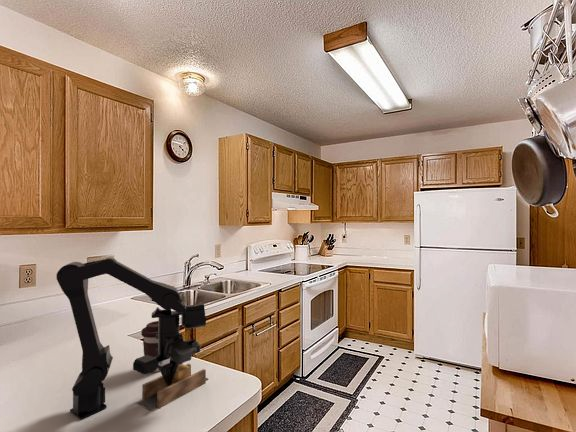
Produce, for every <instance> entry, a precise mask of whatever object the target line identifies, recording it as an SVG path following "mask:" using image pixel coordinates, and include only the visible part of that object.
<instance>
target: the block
mask: <svg viewBox="0 0 576 432" xmlns="http://www.w3.org/2000/svg"><path fill="white" fill-rule="evenodd" d="M186 365H187V364H184V363H183V364H180V365H178V367H177V369H176V372H175V375H174V377H173V380H172V383H173V384H174V383H176V382H178V381H180V380H182V379H184V378H186V377H188V376H190V367H189V366H186Z"/></svg>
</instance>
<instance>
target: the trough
mask: <svg viewBox="0 0 576 432" xmlns="http://www.w3.org/2000/svg"><path fill="white" fill-rule="evenodd" d="M185 365H186V366H189V367H190V376H188V377H186V378H184V379H182V380H180V381H178V382H176V383H174V384H173V383H171V385H170V386H168V385H167V384H166V382H165V380H164V378H163V376H162V375H160V376H159V377H156V378H153V379H151V380H149V381H147V382H145V383H143V384H142V387H141V388H142V389H141V391H142V394H141V395H142V397H141V398H142V400H140V401H139V402H137V404H138V405H140V406H141V407H143V408H145V409H147V410H149V411H152V410H154V409H157V408H158V409H160V408H163V407H164V406H166V405H167V404H169V403H171V402H174V401H175V400H176V399H179V398H180V397H183V396H184V395H186V394H188V393H190V392H192V391H193V390H196V389H197V388H199V387H201V386H203V385H205V384H206V383H207V381H208V380H209V378H207V377H206V376H207V375H206V373H207V372H206V371H207V370H206V369H204V368H202V369H201V370H199V371H197V372H195V373H193V374H192V370H191V369H192V364H190V363H187V364H185Z"/></svg>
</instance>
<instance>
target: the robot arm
mask: <svg viewBox="0 0 576 432" xmlns="http://www.w3.org/2000/svg"><path fill="white" fill-rule="evenodd" d="M102 275H109V276H110V277H113V278H114V279H117V280H119V281H120V282H123V283H124V284H126V285H128V286H130V287H132V288H134V289H136V290H137V291H139V292H142V293H144V294H145V295H146V296H148V297H149V298H150V299H151V300H152V301H153V302H154V303H155V304H156V305H158V307H156V308H155V310H153V311H152V312H151V318H152V319H156V318H157V319H158V320H157V321H158V334H157V335H156V339H158V348H157V349H156V353H158V356H155V357H152V356H149V355H145V356H144V355H143V356H140V357H137V358H135V359H134V361H133V362H132V363H133V364H132V370H134V371H135V372H138V373H140V374H141V375H148V374H151V373H154V372H153V371H155V370H156V369H157V368H158V369H159V370H160V371H159V373H160V374H161V376H163V378H164V380H165V382H166V384H167V385H168V386H170V385H171V383H172V380H173V377H174V375H175V372H176V369H177V367H178V365H180V364H184V363H186V362H190V361H192V357H193V355H195V354H198V353H200V352H201V345H200V343H199V342H198V341H197V340H196V339H186V340H184V335H183V333H181V332H180V324H181V326H182V327H183V326H184V329H185V330H187V329H188V330H189V329H197V328H203V327H206V326H207V325H206V324H207V316H206V311H205V310H206V309H205V304H204V302H203V303H202V302H201V303H197V304H196V303H195V304H190V305H186V304H185V302H184V301H183V299H181V297H180V293H179V290H178V289H177V287H175V286H173V285H171V284H167V283H164V282H161V281H156V280H153V279H151V278H150V277H147V276H145V275H144V274H141V273H140V272H138V271H136V270H134V269H133V268H131V267H129V266H127V265H125V264H123V263H121V262H119V261H118V260H117V259H116V258H114V257H106V258H104V259H100V260H95V261H94V260H93V261H89V262H84V263H83V262H80V261H72V262H69V263H68V264H65V265H62V267H61V268H59V270H57V272H56V275H55V276H56V277H55V278H56V280H57V283H58V285H59V287H60V289H61V291H62V292H63V294H64V295H65V296H66V298H67V299H68V301H69V303H70V308H71V312H72V315H73V319H74V324H75V327H76V331H77V334H78V335H77V336H78V338H79V342H80V345H81V349H82V356H81V357H82V358H81V359H82V360H81V361H82V362H81V372H80V373H79V374H78V376H77V378H76V380H75V382H74V384H73V386H72V389H71V390H72V408H71V409H69V413H71V414H72V415H73V416H76V417H77V418H78V419H80V420H83V419H85V418H88V417H89V416H91V415H94V414H96V413H98V412H101V411H102V410H104V409H106V408H107V404H105V403H106V387H105V386H104V382H103V381H105V379H106V378H107V376H108V373H109V371H110V368H111V365H112V362H113V358H114V357H113V356H112V353H111V352H110V351H111V350H110V349H111V348H110V344H109V345H106V346H104V345H103V344H102V343H101V341H100V337H99V332H98V329H97V325H96V321H95V317H94V313H93V310H92V305H91V302H90V298H89V294H88V292H89V291H88V289H89V279H92V278H96V277H98V276H99V277H100V276H102ZM159 307H160V308H159ZM161 308H162V309H161ZM180 317H181V319H180ZM180 320H181V321H180ZM180 322H181V323H180Z"/></svg>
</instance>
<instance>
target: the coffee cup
mask: <svg viewBox="0 0 576 432" xmlns="http://www.w3.org/2000/svg"><path fill="white" fill-rule="evenodd" d="M157 334H158V320H155V321H151V322H148V323H147V324H146V325H145V327H143V328H141V336H142V337H143V341H142V342H143V343H142V345H143V356H145V355H149V356H152V357H155V356H158V353H156V349H157V348H158V339H156V335H157ZM156 372H160V370H159V369H158V368H157V369H156V370H155V371H153V372H152V373H156Z"/></svg>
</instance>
